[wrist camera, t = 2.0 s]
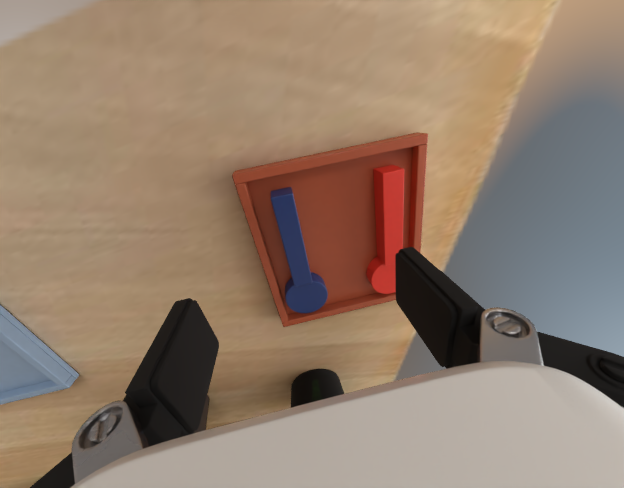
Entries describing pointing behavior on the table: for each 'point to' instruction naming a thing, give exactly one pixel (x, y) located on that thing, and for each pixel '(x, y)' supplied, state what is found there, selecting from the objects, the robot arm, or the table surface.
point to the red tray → (333, 217)
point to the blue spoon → (297, 257)
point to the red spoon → (387, 227)
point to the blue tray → (28, 363)
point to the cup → (315, 387)
